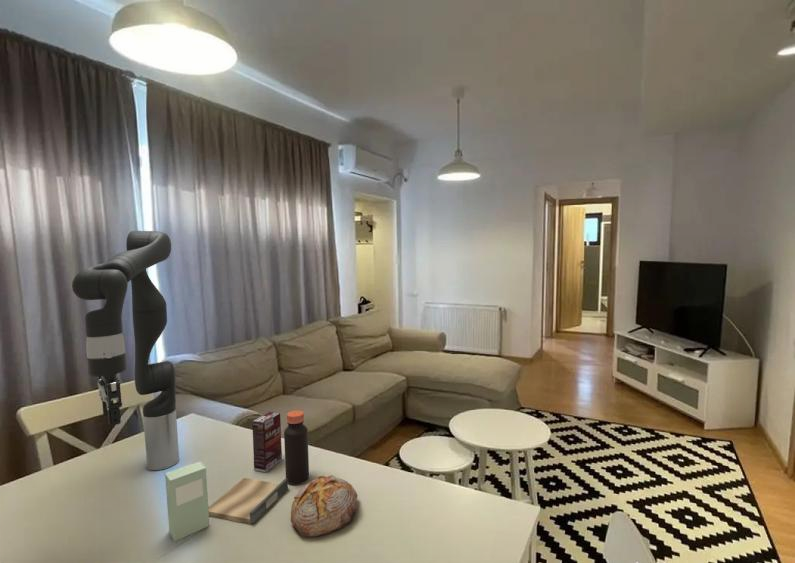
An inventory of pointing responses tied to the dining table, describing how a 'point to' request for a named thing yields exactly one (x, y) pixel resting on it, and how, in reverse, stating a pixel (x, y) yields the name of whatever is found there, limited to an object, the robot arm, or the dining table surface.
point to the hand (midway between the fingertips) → (111, 419)
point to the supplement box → (267, 441)
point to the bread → (323, 506)
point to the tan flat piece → (248, 500)
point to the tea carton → (187, 500)
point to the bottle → (296, 449)
